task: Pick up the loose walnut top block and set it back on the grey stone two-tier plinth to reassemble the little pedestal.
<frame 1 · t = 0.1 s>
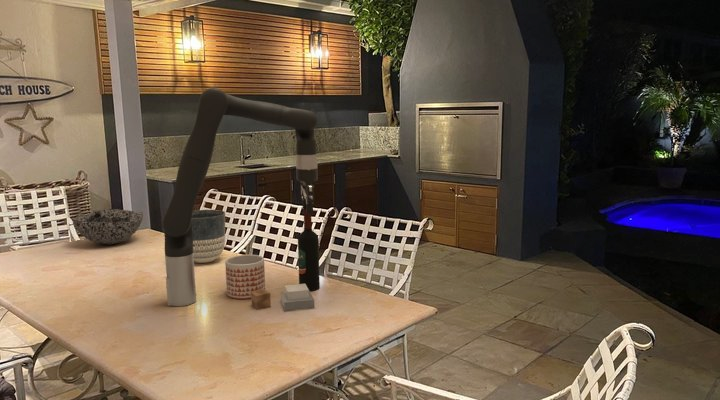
hand: (307, 212, 196), 29 cm above the table, fingers open, 8 cm apart
wine bottle: (309, 288, 203), on the table
walnut block: (261, 306, 184), on the table
planter: (204, 261, 240), on the table
bowl: (111, 243, 274), on the table
plinth: (297, 304, 186), on the table
vase: (246, 293, 198), on the table
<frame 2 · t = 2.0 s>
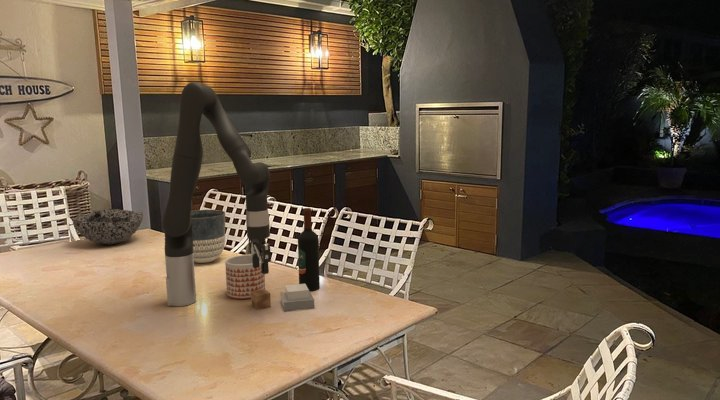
hand: (260, 270, 183), 12 cm above the table, fingers open, 8 cm apart
nothing on the table moved.
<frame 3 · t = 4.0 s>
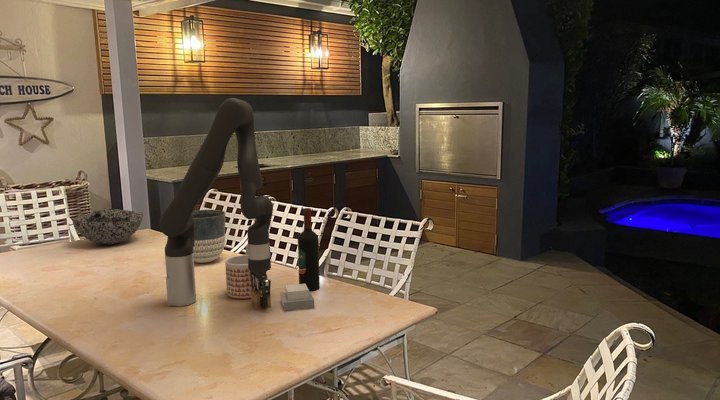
hand: (261, 304, 184), 1 cm above the table, fingers closed on walnut block, 5 cm apart
walnut block: (261, 306, 184), on the table, touching gripper
everything else where it was.
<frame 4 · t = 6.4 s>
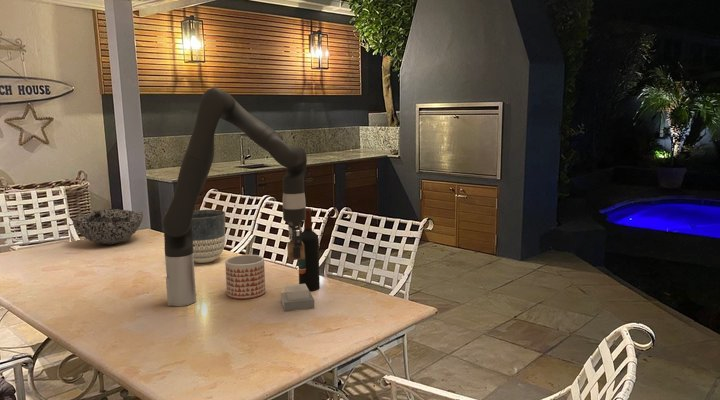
hand: (295, 255, 183), 17 cm above the table, fingers closed on walnut block, 5 cm apart
walnut block: (296, 257, 183), point 16 cm above the table, touching gripper
everything else where it was.
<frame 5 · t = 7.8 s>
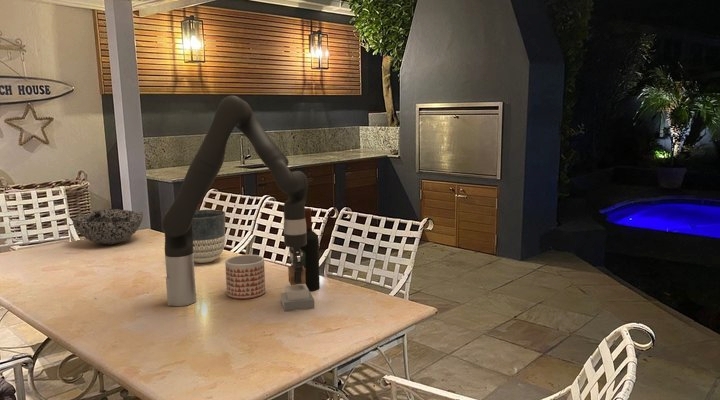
hand: (296, 280, 184), 9 cm above the table, fingers closed on walnut block, 5 cm apart
walnut block: (297, 282, 184), point 8 cm above the table, touching gripper
everything else where it was.
when the fingers open (8 cm above the table, at t = 8.9 s): walnut block stays where it is, resting on plinth.
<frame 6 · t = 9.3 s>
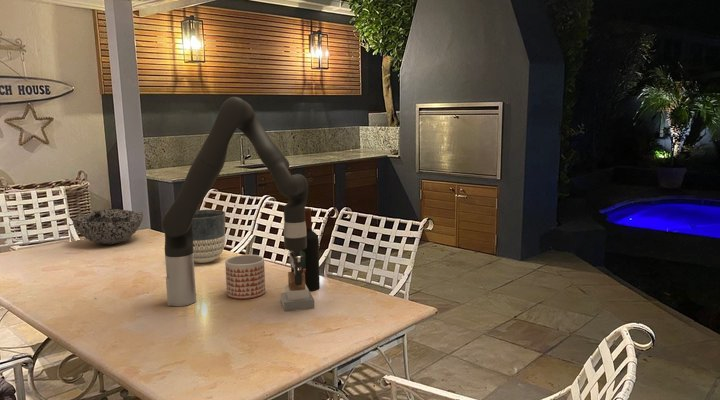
hand: (296, 281, 184), 8 cm above the table, fingers open, 8 cm apart
walnut block: (296, 287, 185), point 6 cm above the table, touching plinth
everything else where it was.
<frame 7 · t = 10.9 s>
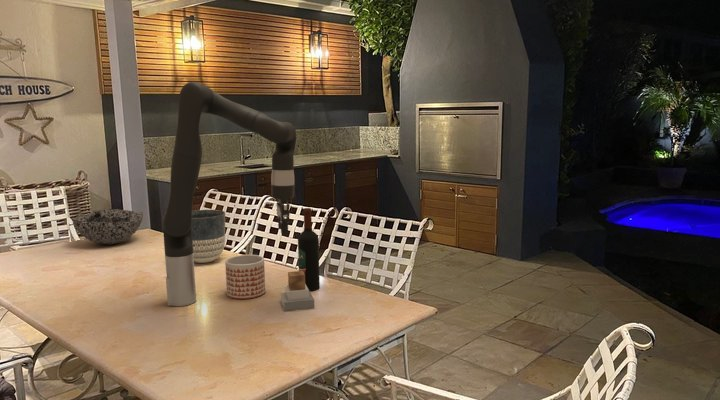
hand: (283, 231, 181), 26 cm above the table, fingers open, 8 cm apart
nothing on the table moved.
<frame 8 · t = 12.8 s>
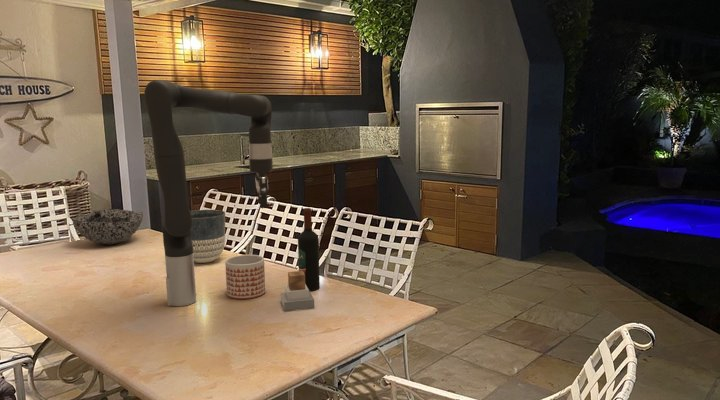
hand: (262, 205, 181), 34 cm above the table, fingers open, 8 cm apart
nothing on the table moved.
at the end: walnut block 0.1 cm off-centre on the plinth, point 6.0 cm above the plinth's base; walnut block tilted 0°; the gripper is holding nothing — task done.
